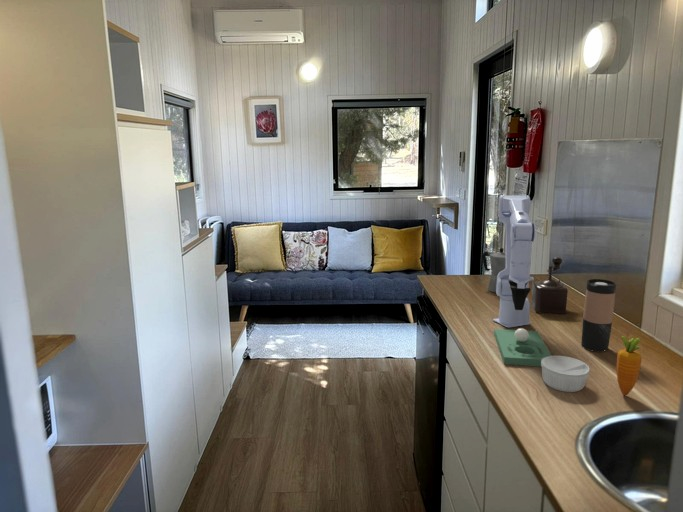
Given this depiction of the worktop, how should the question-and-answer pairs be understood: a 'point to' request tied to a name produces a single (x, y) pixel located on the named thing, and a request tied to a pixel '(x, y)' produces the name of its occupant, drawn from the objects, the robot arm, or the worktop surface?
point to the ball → (521, 334)
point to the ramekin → (564, 373)
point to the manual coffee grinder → (550, 293)
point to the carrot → (628, 365)
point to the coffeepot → (494, 266)
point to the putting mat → (521, 348)
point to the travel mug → (598, 314)
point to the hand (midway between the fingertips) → (517, 306)
